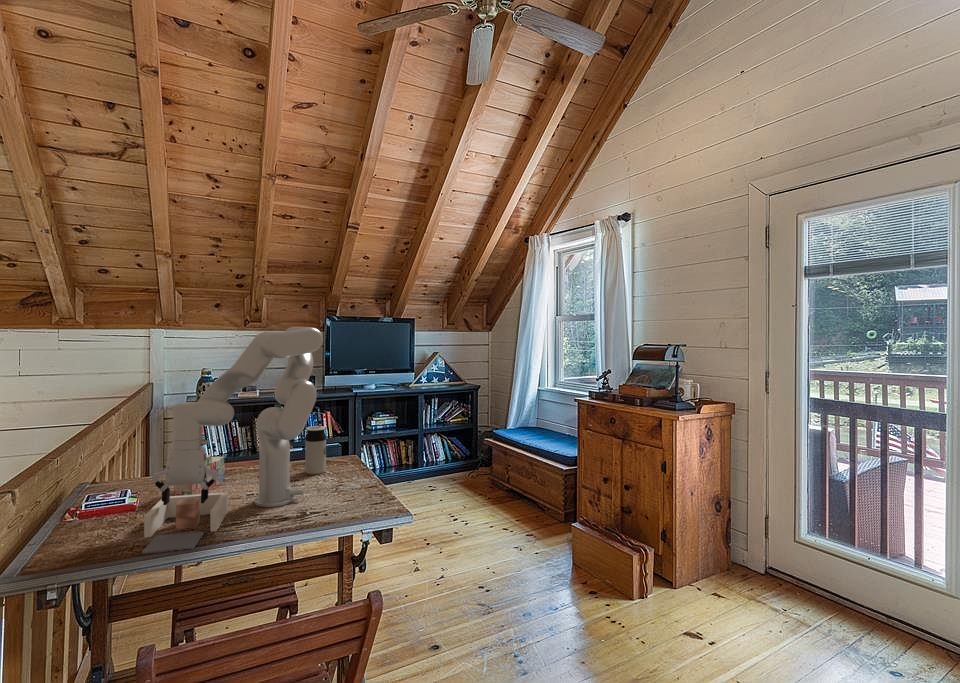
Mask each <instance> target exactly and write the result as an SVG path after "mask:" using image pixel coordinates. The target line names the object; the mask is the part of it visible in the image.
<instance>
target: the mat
mask: <svg viewBox="0 0 960 683" xmlns="http://www.w3.org/2000/svg"><path fill="white" fill-rule="evenodd" d="M204 534H205V531H199V532H197V531H196V532H188V533H187V532H186V533H176V534H166V535H156V536H154V537H153V538H152V539H151V541H150V542H149V543H148V544H147V546H146V547H145V548H144V549H143V550H142V552H141V555H148V554H156V553H157V554H158V553H168V551H169V552H175V551H174V550H179V551H183V550H182V549H190V550H193V549H192V548H195V549H196V547H197V546H196V545H198V544H199V542H200V540H202V537H203V536H204ZM195 546H196V547H195Z"/></svg>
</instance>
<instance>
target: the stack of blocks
mask: <svg viewBox="0 0 960 683" xmlns="http://www.w3.org/2000/svg"><path fill="white" fill-rule="evenodd" d="M206 458H207V468H209V469H212V470H214V471H216V472H218V473H219V476H218V477H217V479H216V481H215V482H214V483H213V484H212V485H211V486H210V487H209V488H208V491H210V490H211V489H213V488H214V486H215V487H216V486H218V485H219V484H221V483H223V482H225V477H226V476H225V471H226V470H225V469H226V468H225V467H226V466H225V457H224V456H212V455H211V454H206ZM205 479H206V480H207V481H208V482H209V481H210V480H211V479H212V476H211V475H209V474H207V477H206V478H205ZM202 489H203V488H202V486H201V485H200V484H199V483H198V484H177V485H173V496H182V495H197V494H201V490H202Z"/></svg>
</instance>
